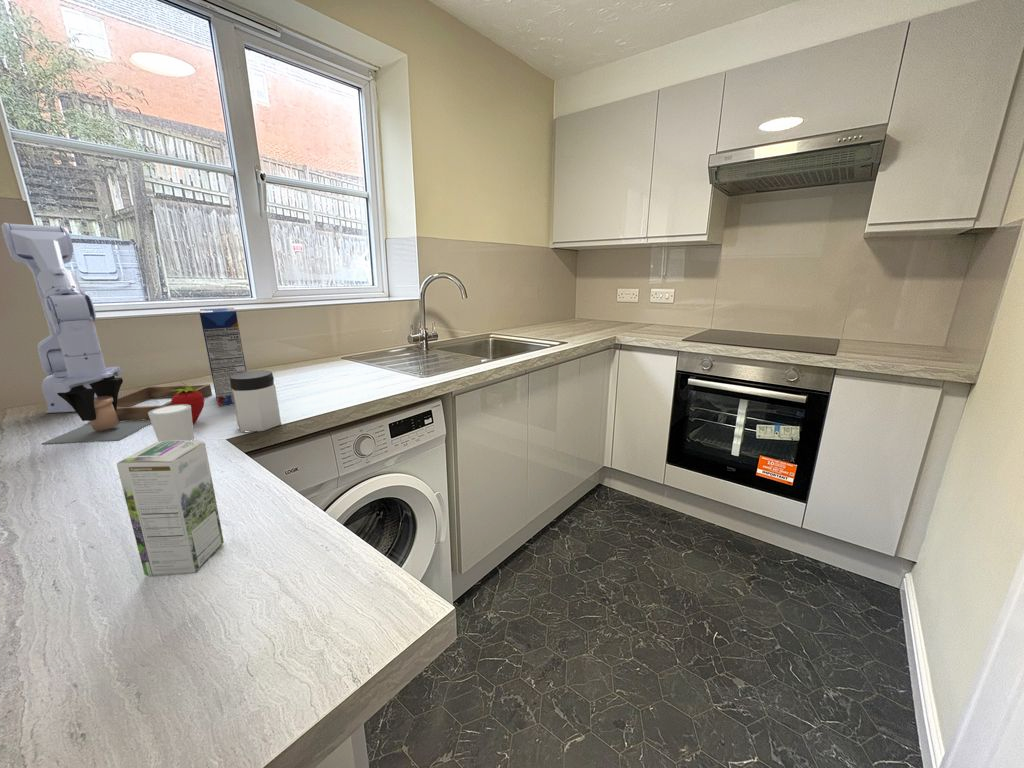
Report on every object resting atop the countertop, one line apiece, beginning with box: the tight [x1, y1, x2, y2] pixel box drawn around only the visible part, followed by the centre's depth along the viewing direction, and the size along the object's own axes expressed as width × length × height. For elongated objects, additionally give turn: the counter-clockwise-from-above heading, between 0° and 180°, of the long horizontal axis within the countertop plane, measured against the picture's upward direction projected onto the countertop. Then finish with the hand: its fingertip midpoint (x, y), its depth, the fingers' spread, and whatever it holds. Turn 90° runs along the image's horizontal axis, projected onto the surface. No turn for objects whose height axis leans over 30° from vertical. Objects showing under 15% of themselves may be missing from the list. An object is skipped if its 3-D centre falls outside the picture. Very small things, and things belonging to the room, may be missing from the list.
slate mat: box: [41, 419, 152, 445], centre depth 90 cm, size 14×12×1 cm
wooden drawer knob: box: [88, 396, 120, 430], centre depth 90 cm, size 5×5×6 cm
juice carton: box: [199, 307, 247, 407], centre depth 110 cm, size 12×8×24 cm, turn 35°
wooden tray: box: [115, 383, 213, 421], centre depth 106 cm, size 16×20×3 cm
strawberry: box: [170, 381, 205, 424], centre depth 94 cm, size 6×8×10 cm
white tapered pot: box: [148, 404, 195, 442], centre depth 84 cm, size 7×7×7 cm
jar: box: [229, 369, 282, 433], centre depth 92 cm, size 9×8×12 cm
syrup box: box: [116, 440, 225, 577], centre depth 49 cm, size 6×6×14 cm
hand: (100, 415), depth 89 cm, fingers closed on wooden drawer knob, 5 cm apart
